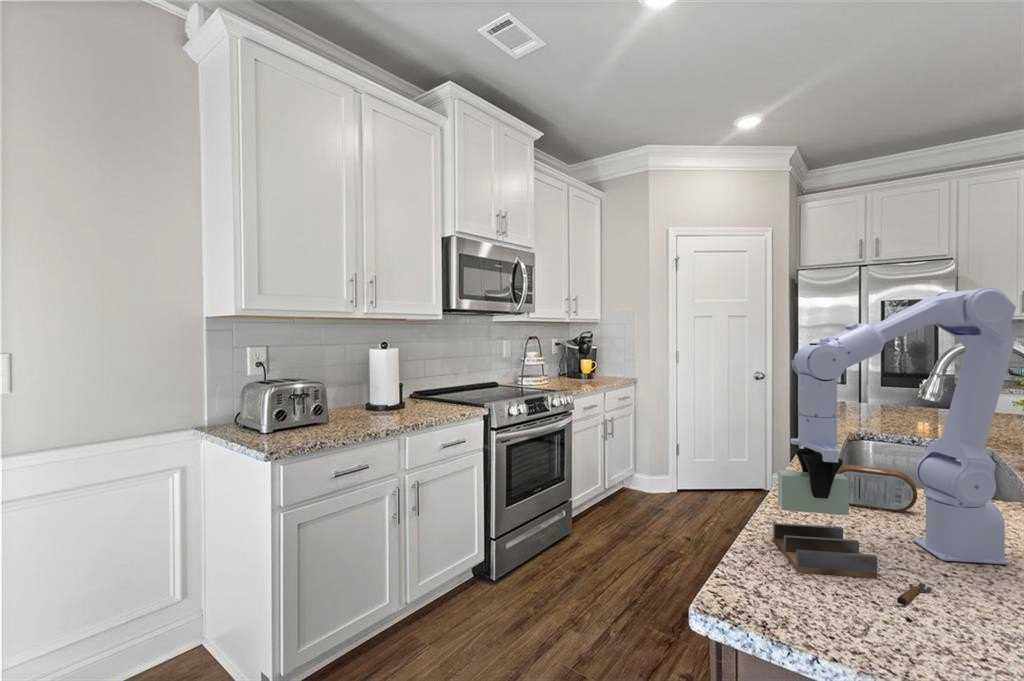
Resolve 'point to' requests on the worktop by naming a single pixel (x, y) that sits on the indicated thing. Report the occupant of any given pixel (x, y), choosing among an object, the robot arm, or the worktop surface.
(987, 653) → the worktop surface
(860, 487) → the tin
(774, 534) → the rack
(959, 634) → the worktop surface
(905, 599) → the can opener
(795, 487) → the tall sage green block
